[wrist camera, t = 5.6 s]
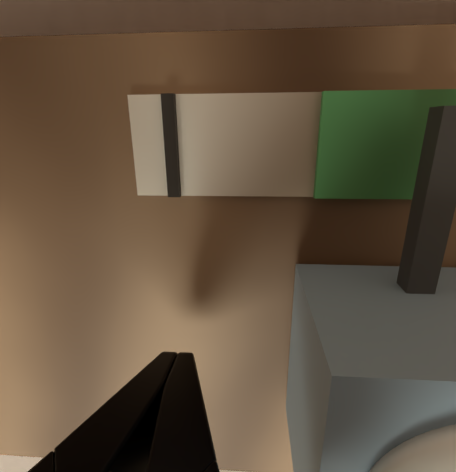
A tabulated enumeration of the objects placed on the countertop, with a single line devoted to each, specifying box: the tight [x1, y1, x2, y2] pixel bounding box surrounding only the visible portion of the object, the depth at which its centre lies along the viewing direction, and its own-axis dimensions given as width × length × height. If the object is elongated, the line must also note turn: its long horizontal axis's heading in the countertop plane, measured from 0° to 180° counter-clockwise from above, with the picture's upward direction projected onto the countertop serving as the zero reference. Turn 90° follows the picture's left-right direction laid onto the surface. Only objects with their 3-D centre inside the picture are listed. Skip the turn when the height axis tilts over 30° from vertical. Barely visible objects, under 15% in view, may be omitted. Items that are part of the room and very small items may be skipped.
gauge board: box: [0, 24, 456, 472], centre depth 7 cm, size 22×14×6 cm, turn 90°
